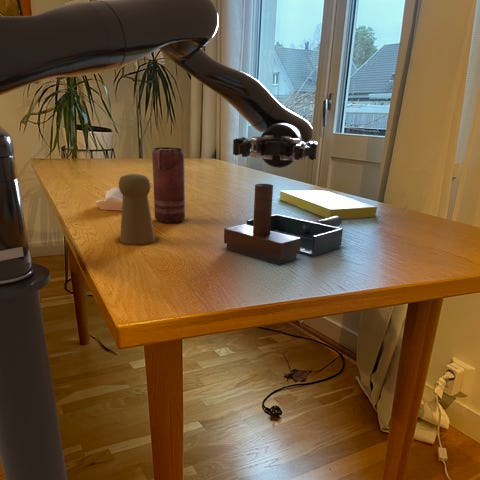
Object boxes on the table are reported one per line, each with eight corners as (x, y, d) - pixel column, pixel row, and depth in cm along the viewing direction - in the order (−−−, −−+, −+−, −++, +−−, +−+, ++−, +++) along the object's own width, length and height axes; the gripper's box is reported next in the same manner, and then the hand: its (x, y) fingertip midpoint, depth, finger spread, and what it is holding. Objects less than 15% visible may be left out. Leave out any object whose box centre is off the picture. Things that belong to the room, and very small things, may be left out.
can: (149, 222, 95) (145, 148, 90) (163, 215, 101) (161, 146, 95) (176, 225, 94) (175, 150, 88) (189, 218, 99) (189, 147, 93)
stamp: (279, 265, 72) (284, 192, 68) (223, 249, 80) (225, 181, 75) (299, 259, 76) (305, 188, 71) (243, 243, 83) (246, 178, 78)
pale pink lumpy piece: (103, 192, 99) (88, 185, 106) (105, 213, 101) (90, 205, 108) (147, 189, 104) (130, 182, 112) (148, 209, 106) (131, 202, 113)
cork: (123, 245, 79) (118, 177, 75) (117, 236, 84) (112, 172, 80) (158, 243, 82) (156, 176, 77) (151, 234, 87) (148, 171, 82)
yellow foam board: (375, 216, 108) (320, 197, 128) (377, 206, 107) (321, 189, 127) (329, 219, 103) (279, 199, 123) (330, 209, 102) (280, 190, 122)
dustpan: (313, 256, 77) (315, 236, 76) (245, 238, 86) (246, 220, 85) (371, 236, 91) (374, 219, 89) (307, 222, 100) (309, 207, 98)
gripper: (245, 121, 90) (227, 123, 75) (321, 125, 88) (317, 128, 73) (243, 163, 93) (226, 173, 78) (317, 167, 91) (313, 178, 76)
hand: (270, 151), depth 76 cm, fingers open, 8 cm apart
